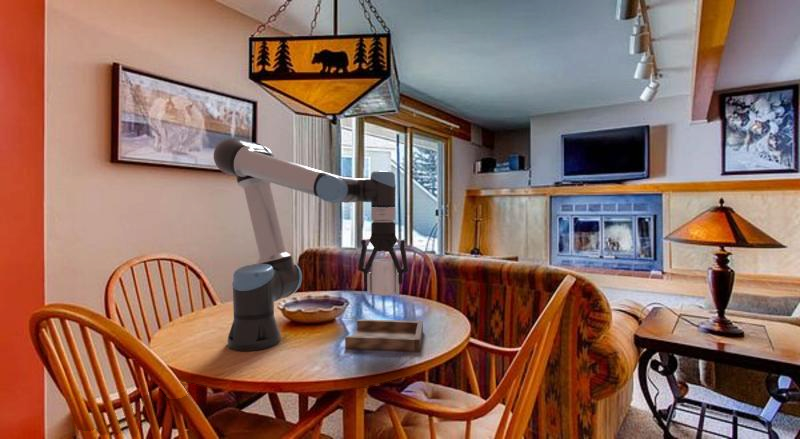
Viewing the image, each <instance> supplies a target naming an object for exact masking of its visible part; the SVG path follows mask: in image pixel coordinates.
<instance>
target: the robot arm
mask: <svg viewBox="0 0 800 439" xmlns="http://www.w3.org/2000/svg"><path fill="white" fill-rule="evenodd" d="M213 161H214V163H215V165H216V167H217V168H218V169H219V170H220V171H221V172H222V173H225V174H227V175H232V176H235V177H236V183H237V185H238V186H239V187H241V188H242V189H243V190H244V195H245V199H246V204H247V208H248V212H249V217H250V222H251V226H252V229H253V234H254V239H255V243H256V247H257V251H258V255H259V258H258V260H257V261H256V263H254V264H253V263H252V264H249V265H248V264H247V265H245V266H242V267H239V268H238V269H236V270H235V271H234V272H233V278H232V292H233V293H232V296H233V298H232V299H233V301H232V302H233V319H232V320H233V321H232V324H231V327H230V330H229V334H228V336H227V347H228V348H229V349H230V350H234V351H239V352H253V351H259V350H265V349H269V348H271V347H274V346H276V345H277V344H278V343H280V341H281V332H280V329H279V325H278V324H277V321H276V318H275V302H277V301H280V300H282V299H285V298H288V297H290V296H292V294H294V293H296V292H297V291H298V290H299V288H300V287H301V285H302V282H303V274H302V270H301V268H300V267H299V265H298V264H296V262H294V261H293V256H292V254H290V253H289V252H287V251H286V248H285V243H284V240H283V239H284V238H283V234H282V230H281V227H280V225H281V224H280V222H279V216H278V213H277V209H276V205H275V198H274V196H273V190H272V187H271V183H272V184H275V185H278V186H282V187H285V188H288V189H292V190H294V191H298V192H301V193H304V194H307V195H312V196H315V197H317V198H320V199H321V200H322V201H324V202H328V203H332V204H334V203H335V204H336V203H347V204H348V203H370V204H371V205H370V209H371V210H370V213H371V214H370V219H371V221H372V222H371V223H370V224H371V225H370V232H371V233H370V237H369V238H366V239H365V238H363V239H361V241H360V243H361V252H360V254H359V255H360V257H359V262H358V263H359V264H358V266H357V267H358V268H357V270H358V272H362V273H363V282H364V284H367V285H366V286H367V287H366V290H367V291H366V292H367V295H371V294H372V291H371V271H370V270H371V264H372V262H373V260H375V259H376V255H377V253H378V252H386V253H387V252H388V253H389V255H390V257H391V259H392V260H393V262H394V264H395V266H396V268H397V273H396V294H395V296H399V295H400V285H402V284H403V282H404V277H403V276H404V273H407V272H408V271H409V270H410V269H409V263H408V258H407V252H406V248H405V247H406V240H405V239H398V238H397V237H396V222H395V220H396V187H397V186H396V174H395V173H394V172H392V171H390V170H389V171H388V170H377V171H372V172H371V174H370V177H368V178H355V177H348V176H341V175H337V174H332V173H329V172H326V171H322V170H320V169H315V168H313V167H309V166H305V165H302V164H299V163H295V162H292V161H289V160H285V159H281V158H278V157H275V155H274V153H273V152H272V151H271V149H269V148H268V147H267V146H265V145H262V144H260V143H258V142H251V141H247V140H241V139H238V138H226V139H224V140H222V141H220V142H219V143H217V145H216V146H215V148H214V151H213ZM396 243H397V246H398V247H399V250H400V256H401V261H402V266H403V267H402V266H401V263H400V261H399V258H398V256H397V254H396V252H395V249H394V246H395V245H396ZM370 244H371V245H372V246H373V249H372V251H371V254H370V256H369V257H368V260H367V263H366V265H365V261H366V260H365V259H366V256H367V252H368V251H367V250H368V246H369V245H370Z"/></svg>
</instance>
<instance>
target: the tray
mask: <svg viewBox="0 0 800 439" xmlns="http://www.w3.org/2000/svg"><path fill="white" fill-rule="evenodd" d="M423 333H424V321H421V320H394V319H392V320H390V319H389V320H386V319H364V318H363V319H362V318H359V319H357V320H356V330H355V331H354V333H353V335H349V334H348V335H345V337H344V346H345V348H344V349H345V350H361V351H363V350H365V351H384V352H385V351H391V352H409V353H411V352H414V353H420V352H421V347H422V340H423Z"/></svg>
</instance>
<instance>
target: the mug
mask: <svg viewBox="0 0 800 439" xmlns="http://www.w3.org/2000/svg"><path fill="white" fill-rule="evenodd" d="M370 272H371V294H373V295H374V296H379V297H380V296H383V297H384V296H393V295H396V273H398V271H397V268H396V266H395V264H394V262H393V260H392V258H377V259H376V258H375V259H374V260H373V262H372V264H371V267H370Z"/></svg>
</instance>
